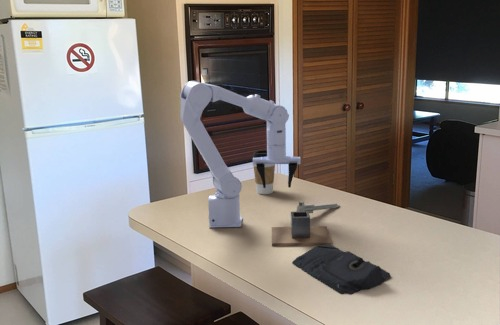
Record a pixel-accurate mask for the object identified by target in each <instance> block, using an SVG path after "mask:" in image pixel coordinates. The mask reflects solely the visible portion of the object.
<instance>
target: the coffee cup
mask: <svg viewBox="0 0 500 325" xmlns="http://www.w3.org/2000/svg"><path fill="white" fill-rule="evenodd" d="M258 157H267V149H264V150H262V149H261V150H256V151H253V155H252V160H253V158H258ZM252 166H253V173H254V181H255V192H256V193H257V194H259V195H269V194H272V193H274V192H273V191H274V180H275V172H276V171H275V170H276V164H265V182H266V188H263V182H262V179H261V176H260V174H259V172H258V170H257V165H253V164H252Z"/></svg>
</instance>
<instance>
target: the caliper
mask: <svg viewBox="0 0 500 325" xmlns="http://www.w3.org/2000/svg"><path fill="white" fill-rule="evenodd" d="M338 207H340V204H338V203H335V202H332V203H321V204H312V203H311V204H310V203H309V204H305V201H301V202H300V201H299V202H298V205H297V207H296V210H295V212H298V211H309V214H313V213H314V211H321V210H330V209H336V208H338Z"/></svg>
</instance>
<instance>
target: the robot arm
mask: <svg viewBox="0 0 500 325" xmlns="http://www.w3.org/2000/svg"><path fill="white" fill-rule="evenodd" d="M179 98H180V116H179V117H180V121H181V122H182V124H183V126H184V128H185V130H186V131H187V133H188V135H189V136H190V138H191V140H192V142H193V144H194V145H195V146H196V148H197V150H198V152H199V153H200V156H201V157H202V159H203V161H204V162H205V164H206V165H207V168H208V169H209V173H210V175H211V177H212V185H213V186H214V188H216V190H215V193H214V194H211V195H209V196H208V204H207V206H208V222H209V226H208V227H209V228H241V227H242V222H243V216H241V204H240V193H241V192H242V188H243V187H242V186H243V185H242V182H241V180H240V179H239V178H238V177H236V176H234V174H233V172H232V171H231V169H229V167H228V166H227V164H226V163H225V161H224V159H223V158H222V156H221V154H220V152H219V150H218V148H217V146H216V145H215V144H214V142H213V140H212V138H211V136H210V135H209V133H208V131H207V130H206V128H205V125H204V123H203V122H202V120H201V118H202V114H203V111H204V110H205V108H206V107H207V106H208V105H209V103H210V102H212V103H215V102H217V101H223V102H226V103H228V104H232V105H235V106H238V107H240V108H242V109H243V110H242V111H243V112H244V114H247V115H249V116H252V117H255V118H258V119H259V120H264V121H266V150H267V157H258V158H253V159H252V166H253V165H257V170H258V172H259V174H260V176H261V179H262V182H263V188H266V182H265V164H275V165H288V179H287V187H288V188H289V189H290V188H291V185H292V182H293V181H292V180H293V178H294V176H295V172H296V171H297V168H298V165H301V163H302V162H301V156H290V155H287V151H286V150H287V146H286V140H287V136H286V135H287V134H286V133H287V132H286V124H287V122H288V120H289V119H290V118H289V116H290V114H289V113H288V110H287V109H286V107H284V106H283V105H280V104H276V103H275V101H273V100H271V99H270V100H266V99H264V98H261V95H259V94H256V93H255V94H250V95H248V96H243V95H241V94H238V93H237V92H234V91H231V90H229V89H226V88H225V87H224V88H223V87H221V86H218V85H216V84H215V85H214V84H210V83H205V82H199V81H198V80H190V81H188V82H186V83H185V84H184V85H183V87H182V90H181V92H180V94H179Z"/></svg>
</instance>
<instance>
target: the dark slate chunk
mask: <svg viewBox="0 0 500 325" xmlns="http://www.w3.org/2000/svg"><path fill="white" fill-rule="evenodd" d="M291 263H292V265H293V266H295V267H296V268H298V269H301V271H302V272H304V273H305V274H307V275H308V276H309V277H312V278H313V279H315V280H317V281H319V282H320V284H324V286H327V287H328V288H330V289H332V290H333V291H335V292H336V293H338V294H340V295H341V294H342V295H343V294H348V295H354V294H355V293H359V292H361V291H367V290H370V289H374V288H375V287H378V286H381V285H382V284H384V282H386V281H387V279H390V278H391V277H392V275H391V274H390V272H388V271H386V270H385V269H383V268H381V267H380V266H379V265H376V264H374V263H372V262H371V261H365V259H364V258H363V257H360V256H358V255H357V254H355V253H353V252H351V251H343V250H341V249H340V248H338V247H336V246H334V245H332V244H331V245H329V244H327V245H318V246H313V247H312V248H311V249H309V250H307V251H305V253H303V254H301V255H298V256H297V257H296V258H295V259H294V260H293V261H292V262H291Z"/></svg>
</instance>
